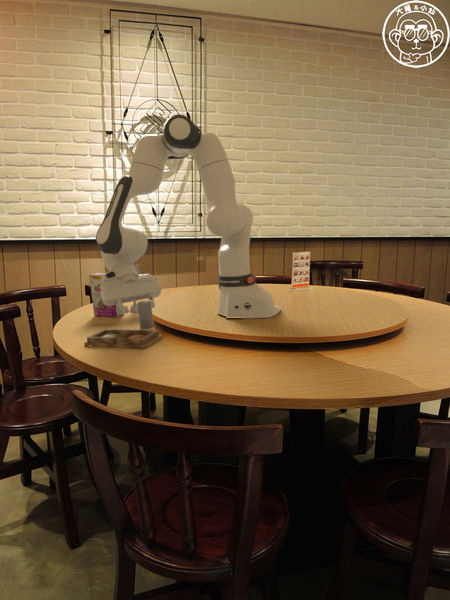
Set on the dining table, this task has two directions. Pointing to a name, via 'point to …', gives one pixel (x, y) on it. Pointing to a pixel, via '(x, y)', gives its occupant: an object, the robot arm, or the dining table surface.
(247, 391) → the dining table surface
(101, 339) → the wooden compartment tray
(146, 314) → the sleeve
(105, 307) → the candy bar box
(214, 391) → the dining table surface
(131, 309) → the chalice
